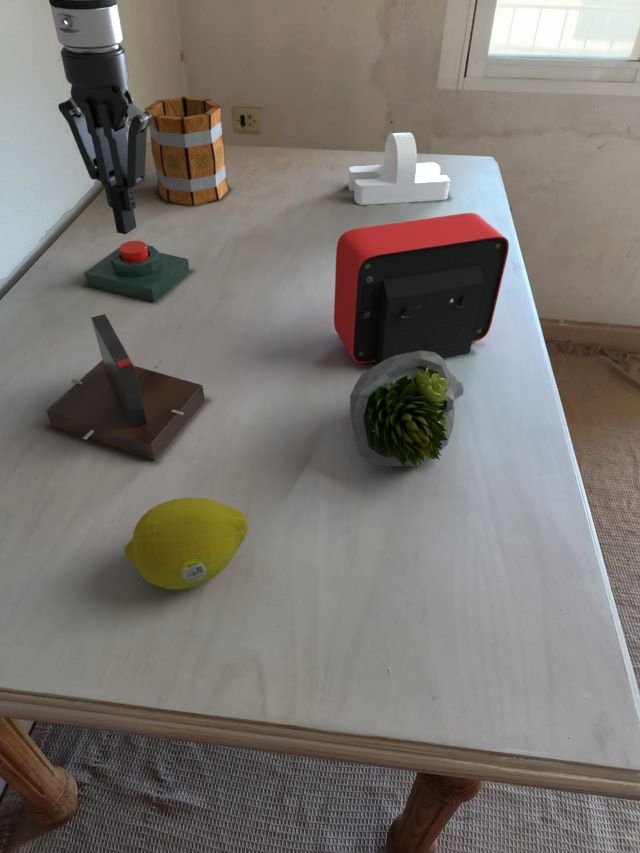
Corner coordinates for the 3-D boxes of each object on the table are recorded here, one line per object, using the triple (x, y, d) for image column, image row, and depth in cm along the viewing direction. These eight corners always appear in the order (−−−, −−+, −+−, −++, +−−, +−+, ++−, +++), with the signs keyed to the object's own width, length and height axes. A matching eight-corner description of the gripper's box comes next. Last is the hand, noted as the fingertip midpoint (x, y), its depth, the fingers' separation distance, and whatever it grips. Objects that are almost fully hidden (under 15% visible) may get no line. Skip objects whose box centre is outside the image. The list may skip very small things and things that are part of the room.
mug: (229, 203, 118) (222, 118, 108) (156, 207, 116) (141, 121, 106) (226, 164, 132) (220, 86, 122) (161, 167, 131) (149, 88, 120)
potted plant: (466, 384, 74) (516, 445, 61) (384, 452, 77) (414, 524, 64) (403, 312, 69) (442, 362, 56) (318, 388, 72) (335, 452, 59)
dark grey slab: (106, 373, 76) (90, 315, 70) (119, 369, 77) (104, 311, 71) (133, 427, 69) (118, 368, 63) (147, 423, 70) (133, 363, 64)
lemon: (128, 610, 55) (109, 557, 50) (138, 539, 61) (121, 484, 56) (251, 600, 56) (246, 546, 51) (249, 530, 62) (244, 475, 57)
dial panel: (35, 437, 71) (27, 419, 70) (115, 362, 82) (110, 345, 80) (148, 475, 67) (144, 458, 65) (218, 392, 78) (215, 375, 76)
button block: (87, 285, 96) (80, 261, 93) (125, 256, 102) (121, 233, 100) (154, 302, 92) (149, 278, 90) (189, 271, 99) (186, 248, 96)
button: (116, 260, 94) (113, 249, 93) (131, 249, 97) (129, 238, 96) (138, 265, 93) (136, 255, 92) (153, 254, 96) (151, 243, 95)
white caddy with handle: (448, 199, 121) (457, 141, 113) (357, 205, 118) (360, 145, 111) (434, 180, 127) (441, 124, 120) (347, 184, 125) (349, 127, 118)
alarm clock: (495, 351, 85) (522, 242, 74) (356, 378, 80) (364, 266, 69) (461, 313, 91) (482, 208, 81) (332, 337, 87) (335, 229, 76)
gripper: (26, 45, 75) (73, 231, 91) (118, 59, 72) (150, 249, 88) (67, 33, 80) (105, 211, 96) (155, 45, 77) (179, 228, 93)
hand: (126, 229), depth 92 cm, fingers closed
